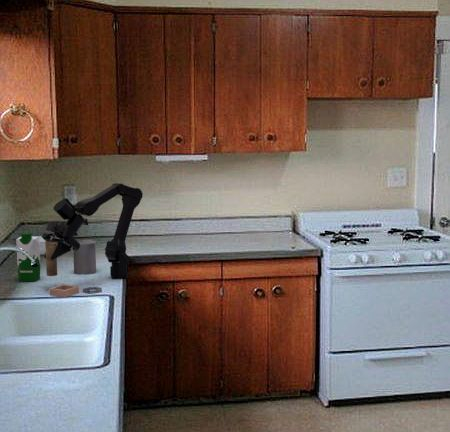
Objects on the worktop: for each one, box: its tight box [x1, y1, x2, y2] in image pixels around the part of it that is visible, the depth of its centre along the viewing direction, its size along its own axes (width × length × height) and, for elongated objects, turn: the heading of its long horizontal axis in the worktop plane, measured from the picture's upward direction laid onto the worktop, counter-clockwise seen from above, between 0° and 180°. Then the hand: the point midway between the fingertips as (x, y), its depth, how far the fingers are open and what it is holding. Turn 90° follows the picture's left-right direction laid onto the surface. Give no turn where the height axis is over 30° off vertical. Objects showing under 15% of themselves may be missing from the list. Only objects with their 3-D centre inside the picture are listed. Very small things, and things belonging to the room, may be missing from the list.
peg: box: [45, 241, 58, 277], centre depth 252 cm, size 4×4×13 cm
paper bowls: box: [39, 235, 46, 256], centre depth 335 cm, size 15×15×8 cm
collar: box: [49, 284, 80, 298], centre depth 248 cm, size 8×8×2 cm
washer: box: [82, 286, 103, 294], centre depth 253 cm, size 7×7×1 cm
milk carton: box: [15, 232, 41, 283], centre depth 272 cm, size 9×9×20 cm
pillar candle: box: [72, 239, 97, 275], centre depth 287 cm, size 10×10×15 cm
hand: (48, 258), depth 251 cm, fingers closed on peg, 4 cm apart
